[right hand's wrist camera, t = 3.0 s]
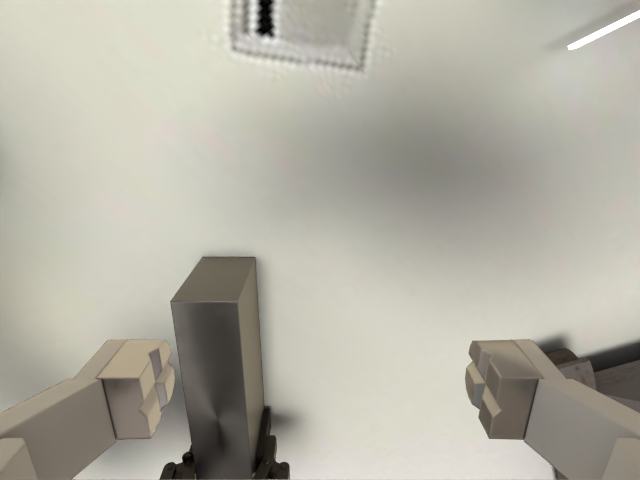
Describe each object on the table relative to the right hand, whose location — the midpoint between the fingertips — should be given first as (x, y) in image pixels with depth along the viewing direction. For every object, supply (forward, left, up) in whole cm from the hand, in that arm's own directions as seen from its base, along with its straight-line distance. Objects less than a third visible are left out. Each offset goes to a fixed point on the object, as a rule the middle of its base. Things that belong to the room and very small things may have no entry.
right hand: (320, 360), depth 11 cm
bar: (+19, +14, -29) cm, 38 cm away
